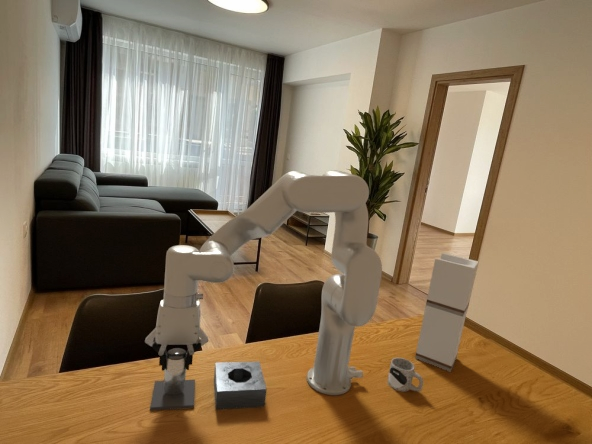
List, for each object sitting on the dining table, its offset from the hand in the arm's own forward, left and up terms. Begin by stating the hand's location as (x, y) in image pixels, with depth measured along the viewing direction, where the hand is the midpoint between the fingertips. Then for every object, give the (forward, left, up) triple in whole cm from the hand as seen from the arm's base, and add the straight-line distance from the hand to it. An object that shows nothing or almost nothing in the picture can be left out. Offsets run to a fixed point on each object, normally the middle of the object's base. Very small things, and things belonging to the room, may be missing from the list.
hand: (175, 366), depth 93 cm
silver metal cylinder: (0, 0, -6) cm, 6 cm away
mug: (-64, +1, -8) cm, 65 cm away
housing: (-16, 0, -8) cm, 18 cm away
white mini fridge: (-84, -13, -8) cm, 85 cm away
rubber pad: (0, 0, -8) cm, 8 cm away
